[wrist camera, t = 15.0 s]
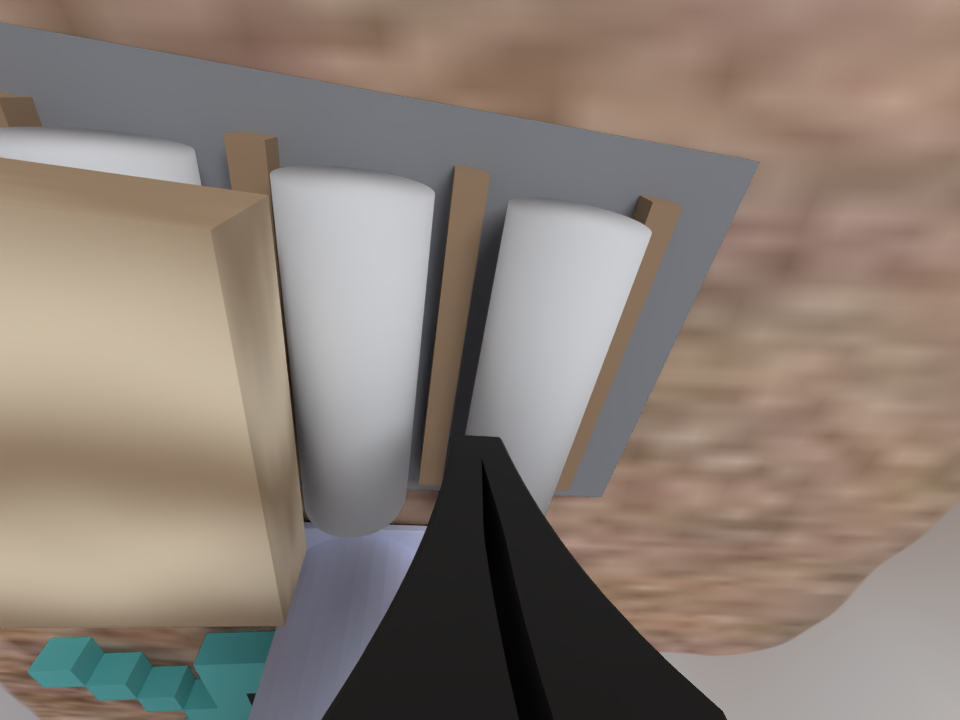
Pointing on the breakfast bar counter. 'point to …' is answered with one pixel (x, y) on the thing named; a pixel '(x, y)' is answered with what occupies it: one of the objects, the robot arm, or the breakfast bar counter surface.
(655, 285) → the roller bed
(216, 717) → the alien figure
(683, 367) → the breakfast bar counter surface
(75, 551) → the slab
